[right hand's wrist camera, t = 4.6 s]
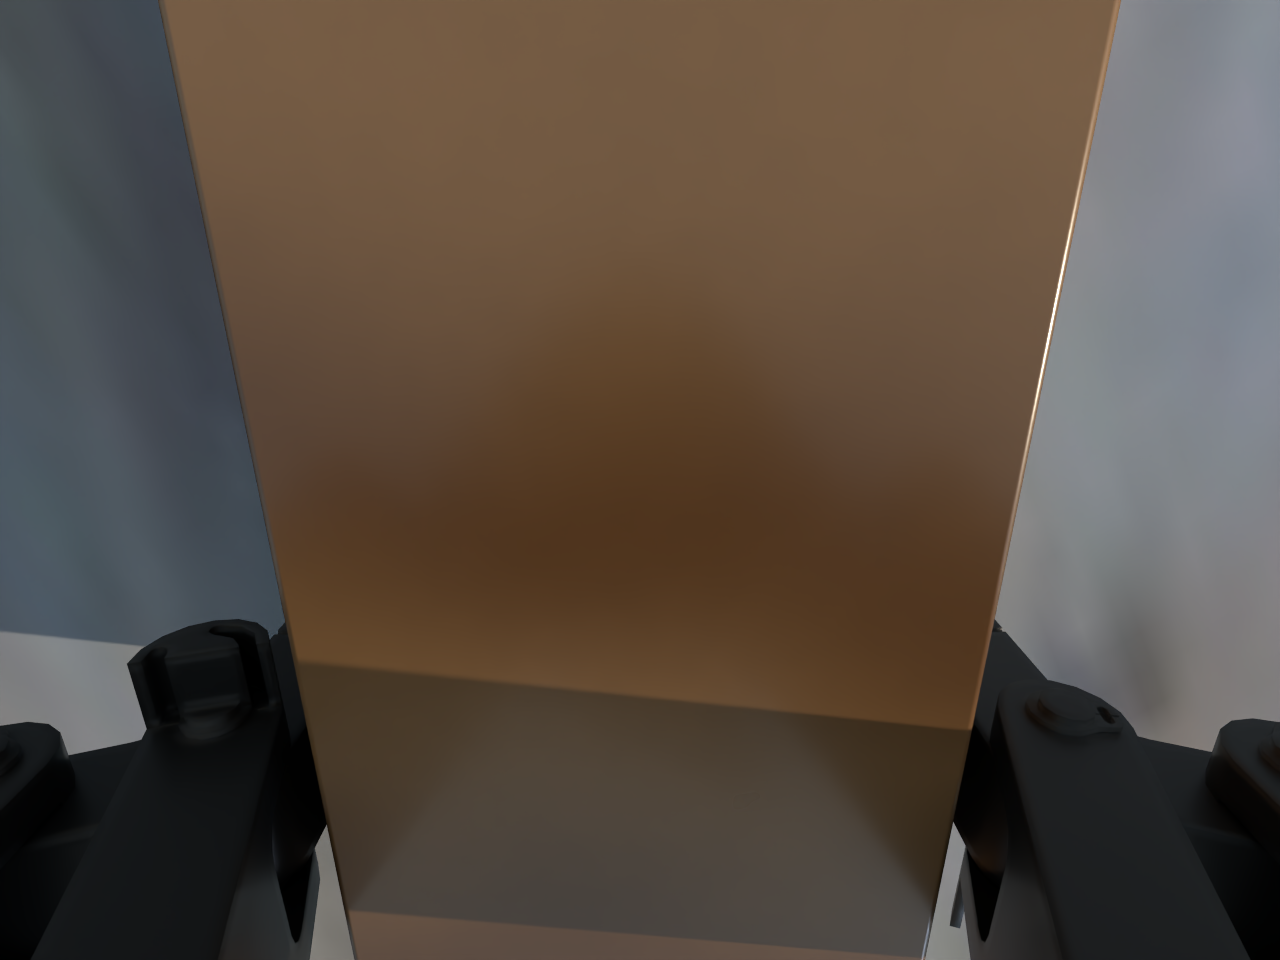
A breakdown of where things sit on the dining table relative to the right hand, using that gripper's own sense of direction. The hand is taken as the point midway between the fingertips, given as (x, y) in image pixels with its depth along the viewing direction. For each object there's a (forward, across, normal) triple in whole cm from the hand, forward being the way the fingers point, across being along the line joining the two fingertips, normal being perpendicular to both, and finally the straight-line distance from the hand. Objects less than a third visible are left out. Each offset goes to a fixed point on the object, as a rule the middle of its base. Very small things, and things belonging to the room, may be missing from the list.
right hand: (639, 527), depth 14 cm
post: (0, 0, -34) cm, 34 cm away
